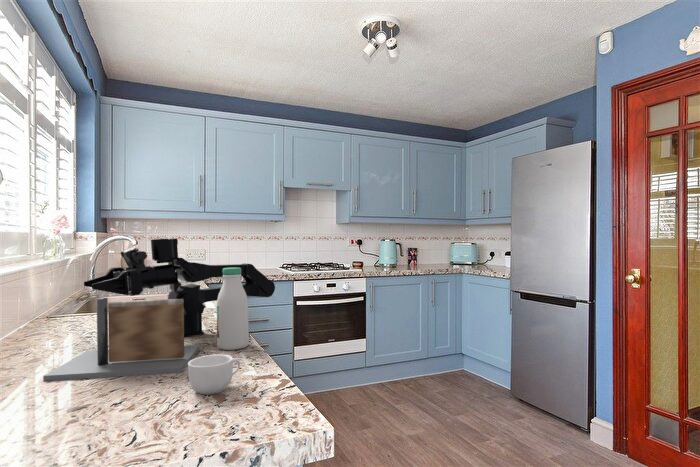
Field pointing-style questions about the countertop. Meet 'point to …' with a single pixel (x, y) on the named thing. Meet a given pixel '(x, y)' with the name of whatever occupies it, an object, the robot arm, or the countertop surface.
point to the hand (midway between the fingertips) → (87, 285)
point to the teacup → (211, 373)
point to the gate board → (119, 366)
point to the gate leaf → (146, 330)
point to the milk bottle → (232, 312)
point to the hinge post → (102, 331)
